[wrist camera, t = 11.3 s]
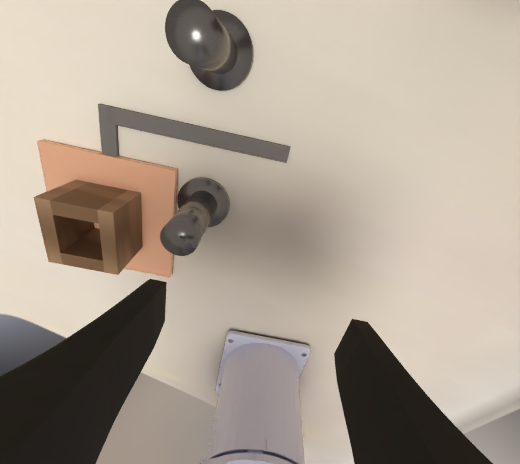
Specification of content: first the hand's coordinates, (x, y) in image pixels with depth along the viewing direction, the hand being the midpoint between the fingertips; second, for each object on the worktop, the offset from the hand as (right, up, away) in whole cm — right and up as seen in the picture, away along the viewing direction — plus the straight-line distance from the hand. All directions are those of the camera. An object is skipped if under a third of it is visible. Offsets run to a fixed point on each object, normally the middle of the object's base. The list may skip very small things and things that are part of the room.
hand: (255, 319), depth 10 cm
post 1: (-2, +13, +4) cm, 14 cm away
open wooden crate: (-11, +5, +9) cm, 15 cm away
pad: (-11, +5, +9) cm, 15 cm away
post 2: (-4, +6, +9) cm, 11 cm away
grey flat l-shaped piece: (-4, +8, +7) cm, 12 cm away
